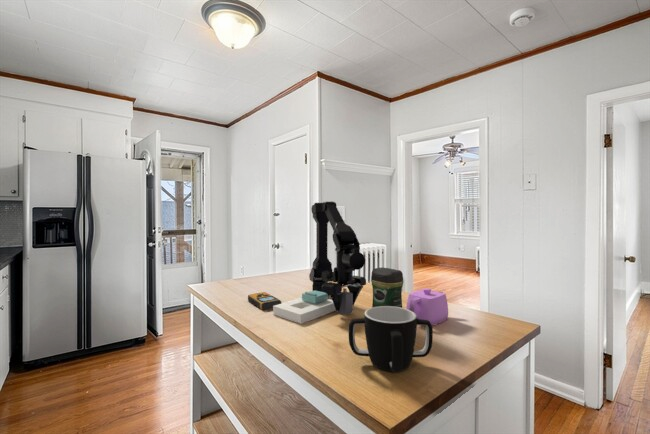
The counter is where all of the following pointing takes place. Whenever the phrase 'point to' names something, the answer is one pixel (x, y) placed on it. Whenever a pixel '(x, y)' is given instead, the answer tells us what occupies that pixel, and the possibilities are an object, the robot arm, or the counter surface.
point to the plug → (346, 303)
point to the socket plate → (303, 310)
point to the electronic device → (263, 300)
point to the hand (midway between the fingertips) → (344, 308)
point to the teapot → (428, 305)
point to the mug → (390, 337)
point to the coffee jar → (387, 287)
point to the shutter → (314, 297)
